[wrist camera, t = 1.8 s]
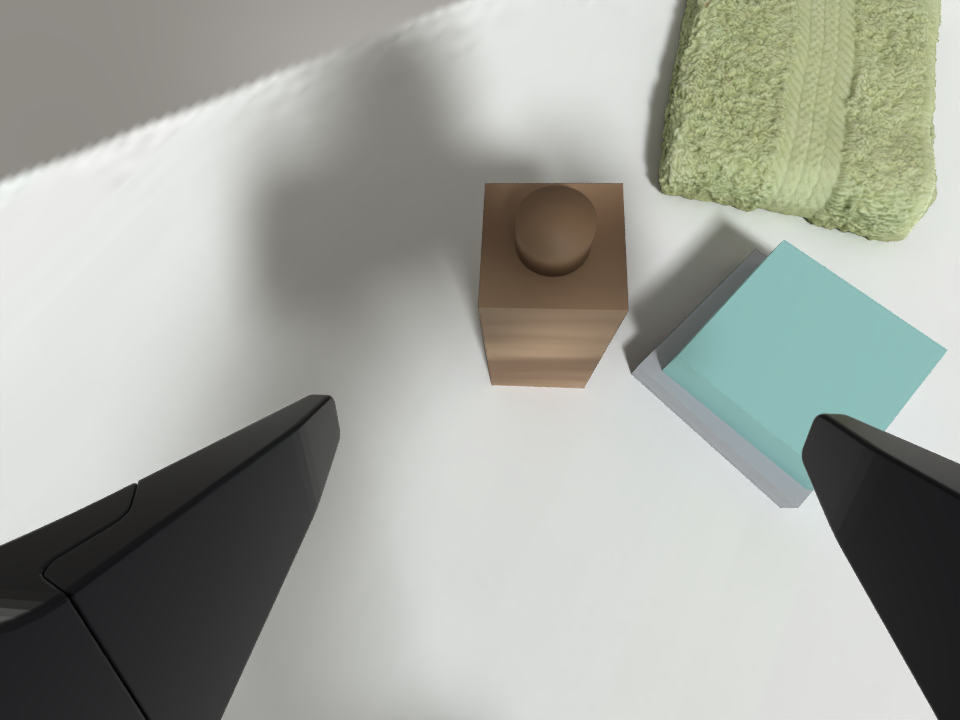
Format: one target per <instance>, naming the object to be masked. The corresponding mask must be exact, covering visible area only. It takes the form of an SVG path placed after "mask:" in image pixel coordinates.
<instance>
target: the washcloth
mask: <svg viewBox="0 0 960 720" xmlns="http://www.w3.org/2000/svg"><path fill="white" fill-rule="evenodd" d="M686 5H687V7H686V10H685V11H686V12H685V13H684V17H683V19H682V24H681V26H682V29H681V32H680V35H681V38H680V39H679V44H680V46H679V49H678V50H677V53H676V59H675V64H674V69H673V73H672V75H673V79H672V81H671V84H670V86H669V90H670V92H669V99H670V101H669V103H668V106H667V107H666V109H665V115H664V118H665V122H666V124H665V125H664V130H663V132H662V138H663V139H664V142H663V143H662V145H661V146H662V157H661V161H660V165H659V175H660V176H659V178H658V179H659V181H660V187H661V190H662V192H663V193H664V194H665V195H670V196H678V195H682V196H683V197H684V198H687V199H690V200H691V199H697V200H699V201H706V202H707V201H712V202H713V201H715V202H716V203H719V204H723V205H725V206H726V205H731V206H732V207H736V208H738V209H740V210H743V211H744V210H745V211H746V212H748V211H753V210H755V209H756V208H760V209H766V210H768V211H771V212H778V213H781V214H784V215H795V216H800V217H805V218H807V220H808V221H809V222H811V223H813V224H814V225H815V226H823V227H824V228H826V229H830V230H831V229H834V228H836V229H839V230H841V231H842V232H847V231H851V232H852V233H853V234H857V235H859V236H866V237H867V238H868V239H869V240H873V239H875V240H878V241H885V242H889V241H900V240H903V239H905V238H906V237H907V235H908V234H909V233H910V232H911V230H912V229H913V228H914V226H915V225H916V223H917V222H918V221H919V220H920V219H921V218H922V217H923V216H924V214H925V213H926V212H927V210H928V207H929V206H931V205H932V204H933V202H934V201H935V199H936V196H937V188H936V181H937V176H936V170H935V157H934V149H933V144H934V141H933V140H934V139H935V133H934V125H933V123H932V121H933V113H934V111H935V99H936V93H935V86H936V80H935V76H936V75H935V63H936V60H937V59H936V58H935V55H936V42H938V41H939V40H938V37H939V32H938V30H939V26H940V24H941V15H940V13H941V0H687V3H686Z"/></svg>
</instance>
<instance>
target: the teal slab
mask: <svg viewBox="0 0 960 720" xmlns="http://www.w3.org/2000/svg"><path fill="white" fill-rule="evenodd" d="M946 351H947V349H945V348H944V347H942V346H941V345H939V344H938V343H936V342H935V341H933V340H932V339H930V338H929V337H927V336H926V335H924V334H923V333H922V332H920V331H919V330H917V329H916V328H914V327H913V326H911V325H910V324H908V323H907V322H905V321H904V320H902V319H901V318H899V317H898V316H896V315H895V314H893V313H892V312H890V311H889V310H887V309H886V308H885V307H883V306H882V305H880V304H879V303H877V302H876V301H874V300H873V299H871V298H870V297H868V296H867V295H865V294H864V293H862V292H861V291H859V290H858V289H856V288H855V287H853V286H852V285H851V284H849V283H848V282H846V281H845V280H843V279H842V278H840V277H839V276H837V275H836V274H834V273H833V272H831V271H830V270H828V269H827V268H825V267H824V266H822V265H821V264H819V263H818V262H817V261H815V260H814V259H812V258H811V257H809V256H808V255H806V254H805V253H803V252H802V251H800V250H799V249H797V248H796V247H794V246H793V245H791V244H790V243H788V242H787V241H785V240H783V241H782V242H781V243H780V244H779V245H778V246H777V247H776V248H775V249H774V250H773V251H772V252H771V253H770V254H769V255H768V256H767V257H766V258H765V259H764V260H763V261H762V262H761V263H760V265H759V266H758V267H757V268H756V269H755V270H754V271H753V272H752V273H751V274H750V275H749V276H748V278H747V279H746V280H745V281H744V282H743V283H742V284H741V285H740V286H739V287H738V288H737V290H736V291H735V292H734V293H733V294H732V295H731V296H730V297H729V298H728V299H727V300H726V301H725V303H724V304H723V305H722V306H721V307H720V308H719V309H718V310H717V311H716V312H715V313H714V315H713V316H712V317H711V318H710V319H709V320H708V321H707V322H706V323H705V324H704V325H703V326H702V328H701V329H700V330H699V331H698V332H697V333H696V334H695V335H694V336H693V337H692V338H691V340H690V341H689V342H688V343H687V344H686V345H685V346H684V347H683V348H682V349H681V350H680V351H679V353H678V354H677V355H676V356H675V357H674V358H673V359H672V360H671V361H670V362H669V363H668V365H667V366H666V367H665V368H664V369H663V370H662V371H663V372H664V373H665V374H666V375H668V376H669V377H670V378H671V379H673V380H674V381H675V382H676V383H677V384H679V385H680V386H681V387H682V388H683V389H685V390H686V391H687V392H688V393H690V394H691V395H692V396H693V397H694V398H696V399H697V400H698V401H699V402H701V403H702V404H703V405H704V406H705V407H707V408H708V409H709V410H710V411H711V412H713V413H714V414H715V415H716V416H718V417H719V418H720V419H721V420H722V421H724V422H725V423H726V424H727V425H728V426H730V427H731V428H732V429H733V430H735V431H736V432H737V433H738V434H739V435H741V436H742V437H743V438H744V439H746V440H747V441H748V442H749V443H750V444H752V445H753V446H754V447H755V448H756V449H758V450H759V451H760V452H761V453H763V454H764V455H765V456H766V457H767V458H769V459H770V460H771V461H772V462H774V463H775V464H776V465H777V466H778V467H780V468H781V469H782V470H783V471H784V472H786V473H787V474H788V475H789V476H791V477H792V478H793V479H794V480H795V481H797V482H798V483H799V484H800V485H802V486H803V487H804V488H805V489H806V490H814V488H813V486H812V483H811V481H810V479H809V476H808V474H807V472H806V469H805V467H804V465H803V462H802V449H803V446H804V443H805V441H806V438H807V435H808V433H809V430H810V427H811V425H812V422H813V420H814V418H815V417H816V416H817V415H819V414H822V413H829V414H845V415H848V416H850V417H853V418H855V419H857V420H859V421H862V422H864V423H866V424H869V425H871V426H873V427H876V428H878V429H880V430H883V431H885V430H886V429H887V427H888V426H889V425H890V423H891V422H892V421H893V420H894V418H895V417H896V416H897V414H898V413H899V412H900V411H901V409H902V408H903V407H904V405H905V404H906V403H907V402H908V400H909V399H910V398H911V396H912V395H913V394H914V393H915V391H916V390H917V389H918V387H919V386H920V385H921V384H922V382H923V381H924V380H925V378H926V377H927V376H928V375H929V373H930V372H931V371H932V369H933V368H934V367H935V366H936V364H937V363H938V362H939V360H940V359H941V358H942V357H943V355H944V354H945V353H946Z"/></svg>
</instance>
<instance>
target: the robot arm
mask: <svg viewBox="0 0 960 720" xmlns="http://www.w3.org/2000/svg"><path fill="white" fill-rule="evenodd" d="M339 439H340V428H339V423H338V417H337V412H336V406H335V401H334V399H333V398H332V397H331V396H330V395H309V396H307V397H305V398H303V399H301V400H299V401H297V402H295V403H293V404H291V405H289V406H287V407H285V408H283V409H281V410H279V411H277V412H275V413H273V414H271V415H269V416H267V417H265V418H263V419H261V420H259V421H257V422H255V423H253V424H251V425H249V426H247V427H245V428H243V429H241V430H239V431H237V432H235V433H233V434H231V435H229V436H227V437H225V438H223V439H221V440H219V441H217V442H215V443H213V444H211V445H209V446H207V447H205V448H203V449H201V450H199V451H197V452H195V453H193V454H191V455H189V456H187V457H185V458H183V459H181V460H179V461H177V462H175V463H173V464H171V465H169V466H167V467H165V468H163V469H161V470H159V471H157V472H155V473H153V474H151V475H149V476H147V477H145V478H143V479H141V480H139V481H138V484H136V483H133V484H131V485H129V486H127V487H125V488H123V489H121V490H119V491H117V492H115V493H113V494H111V495H109V496H107V497H105V498H103V499H101V500H99V501H97V502H95V503H92V504H90V505H88V506H86V507H84V508H82V509H80V510H78V511H76V512H74V513H72V514H70V515H67V516H65V517H63V518H61V519H58V520H56V521H54V522H52V523H50V524H47V525H45V526H43V527H41V528H39V529H36V530H34V531H32V532H30V533H28V534H25V535H23V536H21V537H19V538H16V539H14V540H12V541H10V542H7V543H5V544H3V545H0V720H221V718H222V716H223V714H224V711H225V709H226V707H227V705H228V703H229V700H230V698H231V696H232V694H233V692H234V689H235V687H236V685H237V683H238V681H239V679H240V676H241V674H242V672H243V670H244V668H245V665H246V663H247V661H248V659H249V657H250V655H251V652H252V650H253V648H254V646H255V644H256V641H257V639H258V637H259V635H260V633H261V630H262V628H263V626H264V624H265V622H266V620H267V617H268V615H269V613H270V611H271V609H272V606H273V604H274V602H275V600H276V598H277V596H278V593H279V591H280V589H281V587H282V585H283V582H284V580H285V578H286V576H287V574H288V571H289V569H290V567H291V565H292V563H293V561H294V558H295V556H296V554H297V552H298V550H299V547H300V545H301V543H302V541H303V539H304V537H305V534H306V532H307V530H308V528H309V526H310V523H311V521H312V519H313V517H314V514H315V512H316V510H317V507H318V504H319V502H320V499H321V496H322V493H323V490H324V487H325V483H326V480H327V477H328V474H329V471H330V468H331V465H332V462H333V459H334V456H335V452H336V449H337V446H338V443H339ZM802 462H803V465H804V467H805V469H806V472H807V474H808V476H809V479H810V481H811V483H812V486H813V488H814V490H815V493H816V495H817V497H818V499H819V502H820V504H821V506H822V509H823V511H824V513H825V516H826V518H827V520H828V523H829V525H830V527H831V529H832V531H833V533H834V535H835V538H836V539H837V541H838V543H839V545H840V547H841V549H842V551H843V553H844V554H845V556H846V558H847V560H848V561H849V563H850V565H851V567H852V568H853V570H854V572H855V574H856V576H857V577H858V579H859V581H860V583H861V584H862V586H863V588H864V590H865V591H866V593H867V595H868V597H869V599H870V600H871V602H872V604H873V606H874V607H875V609H876V611H877V613H878V614H879V616H880V618H881V620H882V622H883V623H884V625H885V627H886V629H887V630H888V632H889V634H890V636H891V637H892V639H893V641H894V643H895V645H896V646H897V648H898V650H899V652H900V653H901V655H902V657H903V659H904V660H905V662H906V664H907V666H908V668H909V669H910V671H911V673H912V675H913V676H914V678H915V680H916V682H917V683H918V685H919V687H920V689H921V691H922V692H923V694H924V696H925V698H926V699H927V701H928V703H929V705H930V706H931V708H932V710H933V712H934V714H935V715H936V717H937V719H938V720H960V464H959V463H956V462H954V461H952V460H949V459H947V458H945V457H942V456H940V455H938V454H936V453H933V452H931V451H929V450H926V449H924V448H922V447H919V446H917V445H915V444H913V443H910V442H908V441H906V440H903V439H901V438H899V437H896V436H894V435H892V434H889V433H887V432H885V431H883V430H880V429H878V428H876V427H873V426H871V425H869V424H866V423H864V422H862V421H859V420H857V419H855V418H853V417H850V416H848V415H845V414H829V413H822V414H819V415H817V416H816V417H815V418H814V420H813V422H812V425H811V427H810V430H809V433H808V435H807V438H806V441H805V443H804V446H803V449H802Z"/></svg>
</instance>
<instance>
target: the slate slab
mask: <svg viewBox="0 0 960 720" xmlns="http://www.w3.org/2000/svg"><path fill="white" fill-rule="evenodd" d="M765 258H766V256H765V255H763V254H762V253H761V252H759V251H758V250H757V249H755V250H754V251H753V252H752V253H751V254H750V255H749V256H748V257H747V258H746V259H745V260H744V261H743V262H742V263H741V264H740V265H739V266H738V267H737V268H736V269H735V270H734V271H733V272H732V273H731V274H730V275H729V276H728V277H727V278H726V279H725V280H724V281H723V282H722V283H721V284H720V285H719V286H718V287H717V288H716V289H715V290H714V291H713V292H712V293H711V294H710V295H709V296H708V297H707V298H706V299H705V300H704V301H703V302H702V303H701V304H700V305H699V306H698V307H697V308H696V309H695V310H694V311H693V312H692V313H691V314H690V315H689V316H688V317H687V318H686V319H685V320H684V321H683V322H682V323H681V324H680V325H679V326H678V327H677V328H676V329H675V330H674V331H673V332H672V333H671V334H670V335H669V336H668V337H667V338H666V339H665V340H664V341H663V342H662V343H661V344H660V345H659V346H658V347H657V348H656V349H655V350H654V351H653V352H652V353H651V354H650V355H649V356H648V357H647V358H646V359H645V360H644V361H643V362H641V363H640V364H639V365H638V367H637V368H636V369H635V370H634V371H633V372H632V375H633V376H634V377H635V378H636V379H637V380H638V381H640V382H641V383H642V384H643V385H644V386H645V387H646V388H647V389H649V390H650V391H651V392H652V393H653V394H654V395H655V396H656V397H657V398H659V399H660V400H661V401H662V402H663V403H664V404H665V405H666V406H667V407H669V408H670V409H671V410H672V411H673V412H674V413H675V414H676V415H677V416H679V417H680V418H681V419H682V420H683V421H684V422H685V423H686V424H688V425H689V426H690V427H691V428H692V429H693V430H694V431H695V432H696V433H698V434H699V435H700V436H701V437H702V438H703V439H704V440H705V441H706V442H708V443H709V444H710V445H711V446H712V447H713V448H714V449H715V450H716V451H718V452H719V453H720V454H721V455H722V456H723V457H724V458H725V459H727V460H728V461H729V462H730V463H731V464H732V465H733V466H734V467H735V468H737V469H738V470H739V471H740V472H741V473H742V474H743V475H744V476H745V477H747V478H748V479H749V480H750V481H751V482H752V483H753V484H754V485H756V486H757V487H758V488H759V489H760V490H761V491H762V492H763V493H764V494H766V495H767V496H768V497H769V498H770V499H771V500H772V501H773V502H774V503H776V504H777V505H778V506H779V507H780V508H798V507H799V506H800V505H801V504H802V503H803V502H804V500H805V499H806V498H807V497H808V496H809V495H810V493H811V492H812V491H813V490H806V489H805V488H804V487H803V486H802V485H800V484H799V483H798V482H797V481H795V480H794V479H793V478H792V477H791V476H789V475H788V474H787V473H786V472H784V471H783V470H782V469H781V468H780V467H778V466H777V465H776V464H775V463H774V462H772V461H771V460H770V459H769V458H767V457H766V456H765V455H764V454H763V453H761V452H760V451H759V450H758V449H756V448H755V447H754V446H753V445H752V444H750V443H749V442H748V441H747V440H746V439H744V438H743V437H742V436H741V435H739V434H738V433H737V432H736V431H735V430H733V429H732V428H731V427H730V426H728V425H727V424H726V423H725V422H724V421H722V420H721V419H720V418H719V417H718V416H716V415H715V414H714V413H713V412H711V411H710V410H709V409H708V408H707V407H705V406H704V405H703V404H702V403H701V402H699V401H698V400H697V399H696V398H694V397H693V396H692V395H691V394H690V393H688V392H687V391H686V390H685V389H683V388H682V387H681V386H680V385H679V384H677V383H676V382H675V381H674V380H673V379H671V378H670V377H669V376H668V375H666V374H665V373H664V372H663V371H662V370H663V369H664V368H665V367H666V366H667V365H668V363H669V362H670V361H671V360H672V359H673V358H674V357H675V356H676V355H677V354H678V353H679V351H680V350H681V349H682V348H683V347H684V346H685V345H686V344H687V343H688V342H689V341H690V340H691V338H692V337H693V336H694V335H695V334H696V333H697V332H698V331H699V330H700V329H701V328H702V326H703V325H704V324H705V323H706V322H707V321H708V320H709V319H710V318H711V317H712V316H713V315H714V313H715V312H716V311H717V310H718V309H719V308H720V307H721V306H722V305H723V304H724V303H725V301H726V300H727V299H728V298H729V297H730V296H731V295H732V294H733V293H734V292H735V291H736V290H737V288H738V287H739V286H740V285H741V284H742V283H743V282H744V281H745V280H746V279H747V278H748V276H749V275H750V274H751V273H752V272H753V271H754V270H755V269H756V268H757V267H758V266H759V265H760V263H761V262H762V261H763V260H764V259H765Z"/></svg>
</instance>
